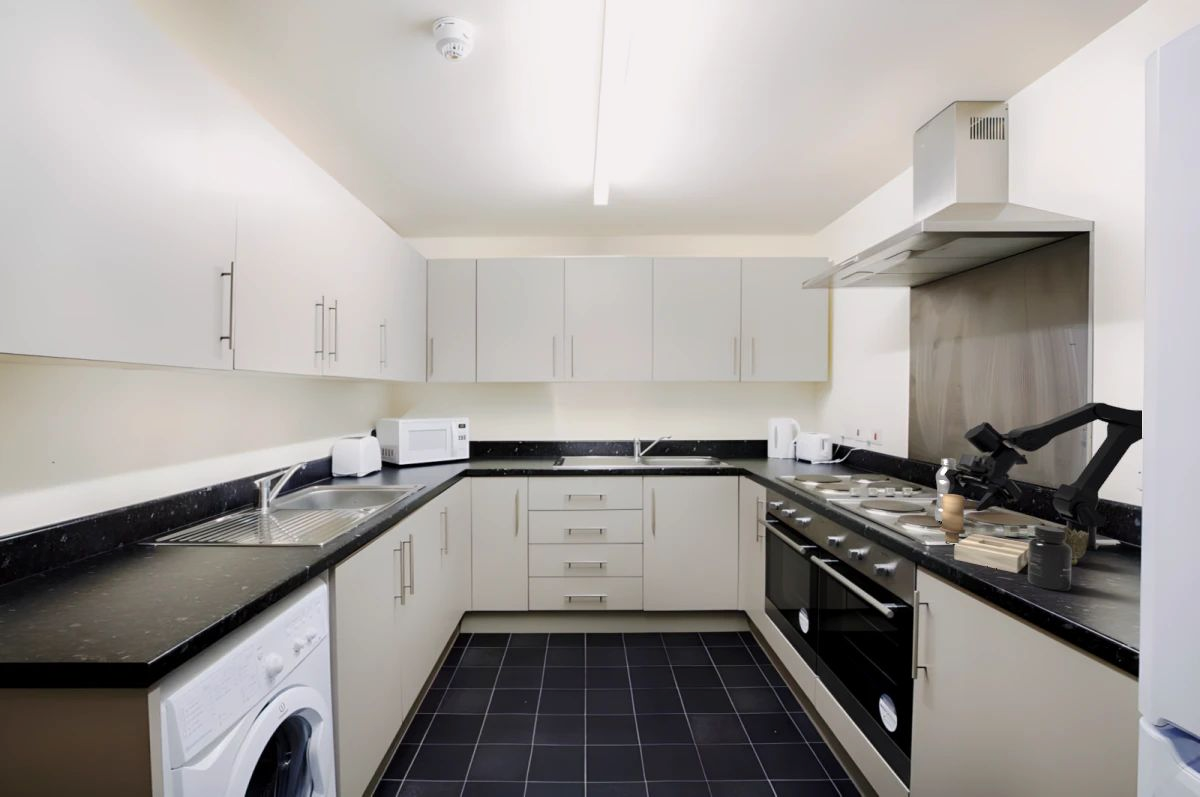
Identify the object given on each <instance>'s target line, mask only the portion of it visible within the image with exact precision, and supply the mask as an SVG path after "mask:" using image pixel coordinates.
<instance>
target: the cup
mask: <svg viewBox="0 0 1200 797" xmlns="http://www.w3.org/2000/svg"><path fill="white" fill-rule="evenodd" d="M1056 528H1058V529H1062V530H1064V531H1066V540H1065V541H1064V542H1065V543H1066V544H1068V545H1069V546H1070V547H1071V549H1072V562H1071V566H1075V565H1076V564H1077V563H1078V559H1081V558H1082V557H1084V555H1085V554H1086V551H1087V549H1086V548H1087V543H1088V537H1089V533H1087V534H1086V532H1082V530H1081V531H1079V532H1078V533H1077V531H1076V529H1074V530H1073V531H1072V530H1070V529H1069V528H1067V526H1064V527H1060V526H1057V527H1056Z"/></svg>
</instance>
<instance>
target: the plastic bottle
mask: <svg viewBox="0 0 1200 797" xmlns="http://www.w3.org/2000/svg"><path fill="white" fill-rule="evenodd" d="M940 459H941V460H940V465H941V467H940V468H938V470H937V472H936V474H935V481H936V488H937V490H936V492H937V494H936V495H937V496H936V497H937V498H936V506H935V508H934V509H935V510H934V519H935V520H936V521H937V520H938V521H942V494H948V490H949V486H950V482H949V480H948V479H947V477H946V476H945V475H944V473H945V472H946V471H947V470H948V469H956V470H958V469H957V467H956V466H957V460H956V459H955V458H947V457H946V458H945V457H944V458H940ZM938 521H937V522H938Z"/></svg>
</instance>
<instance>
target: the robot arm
mask: <svg viewBox="0 0 1200 797" xmlns="http://www.w3.org/2000/svg"><path fill="white" fill-rule="evenodd" d="M1097 420H1098V421H1100V422H1103V423H1105V424H1107V425H1106V438H1105V439H1104V441H1103V442H1102V444H1101V445H1100V446H1099V447H1098V449H1097V451H1096V452H1095V453H1094V454H1093V456H1092V457H1091V458H1090V460H1089V462H1088V463H1087V465H1086V466H1085V467H1084V469H1083V470H1082V472H1080V474H1079V476H1078V478H1077V479H1076V480H1075V482H1072V483H1071V484H1066V483H1061V484H1060V485H1059V488H1058V489H1057V491H1056V492H1055V493H1054V494H1052V497H1054V498H1053V499H1052V504H1053V507H1054V509H1055V510H1056V511H1057V512H1058V514H1059V516H1060V518H1061V519H1062V520H1063V519H1064V520H1066V527H1067V528H1069V529H1070V530H1072V531H1073V530H1074V529H1076V531H1077V533H1078V532H1079V531H1081V530H1082V532H1086V534H1087V533H1089V537H1088V543H1087V548H1086V550H1093V551H1097V550H1098V548H1099V547H1100V544H1099V543H1097V528H1104V526H1105V525H1106V522H1107V519H1106V518H1105V517H1104V516H1103V515H1102V514H1101V513H1099V511H1097V510H1096V509H1097V507H1098V505H1099V491H1100V489H1101V488H1102V486H1103V485H1104V484H1105V483H1106V481H1107V480H1108V478H1109V477H1110V475H1111V474H1112V473H1113V471H1114V470H1115V468H1116V467H1117V465H1118V464H1119V463H1120V461H1121V460H1122V458H1123V457H1124V455H1125V454H1126V453H1127V451H1128V450H1129V448H1130V447H1131V446H1132V445H1134V444H1135V443H1138V442H1140V441H1141V440H1142V439H1143V438H1142V410H1141V409H1127V408H1124V407H1119V406H1116V405H1115V406H1114V405H1111V404H1108V403H1105V402H1087V403H1086V404H1085V405H1083V406H1080V407H1077V408H1076V409H1073V410H1071V411H1068V412H1065V413H1063V414H1061V415H1058V416H1056V417H1053V418H1052V419H1050V420H1046V421H1043V422H1041V423H1038V424H1031V425H1026V426H1022V427H1018V428H1017V427H1016V428H1014V429H1013V428H1012V429H1011V430H1010V431H1009V432H1007V433H1000V432H998V430H996V429H995V428H994V427H993V426H992V425H991V424H990V422H987V421H986V422H984V421H983V422H982V423H980V424H978V425H976V426H975V427H973V428H970V429H969V430H968V431H967V432H966V433H965V435H964V439H965V440H966V441H967V442H969V443H970V444H971V445H972V446H973V447H974V448H975V449H976V450H978V452H980V453H981V454H983V453H984V455H982V456H978V455H974V454H967V453H962V456H961V457H960V460H959V462H958V465H959V466H960V467H963V468H965V469H967V473H968V475H971V476H968V475H967V474H966V473H965V472H964V471H963V470H961V469H957V468H956V469H957V470H956V469H948V470H947V471H946V472H945V473H944V475H945V476H946V477H947V479H948V480H949V482H950V486H949V490H948V494H954V495H960V496H963V495H964V494H966V493H967V490H969V489H970V488H971V487H972V486H975V487H981V488H982V489H983V488H984V489H987V491H986V493H985V494H984V495H983V496H982V498H981V499H980V500H979V501H978V503H977V504H976V506H975V511H976V512H981V511H984V510H987V509H990V508H992V507H995V506H998V505H1002V504H1005V503H1012V502H1019V499H1020V498H1021V497H1022V490H1020V488H1019V487H1018V486H1017V484H1016V483H1015V482H1014V481H1013V480H1012V479H1010V475H1009V474H1008V473H1009V472H1010V470H1011V469H1012V468H1013V467H1014V466H1015V465H1017V466H1019V465H1021V466H1023V465H1028V464H1029V462H1028V460H1027V458H1026V454H1022V453H1020V452H1018V451H1017V450H1019V451H1022V452H1023V451H1024V452H1029V453H1031V452H1036V451H1038V450H1040V449H1042V448H1043V447H1045V446H1046V445H1048V444H1049V443H1050V442H1051V441H1052V440H1053V439H1054V438H1056V437H1058V436H1061V435H1062V434H1066V433H1068V432H1070V431H1073V430H1075V429H1078V428H1080V427H1082V426H1085V425H1088V424H1090V423H1092V422H1094V421H1097ZM985 453H988V454H989V455H985Z"/></svg>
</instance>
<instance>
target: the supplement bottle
mask: <svg viewBox="0 0 1200 797" xmlns="http://www.w3.org/2000/svg"><path fill="white" fill-rule="evenodd" d="M1034 530H1035V532H1034V536H1036V537H1035V538H1032V539H1031V540H1030V541H1029V542H1028V543H1029V554H1028V563H1027V580H1028V582H1029V583H1030V584H1032V585H1033V586H1035V585H1036V587H1038V588H1042V589H1045V588H1046V589H1045V590H1050V591H1056V590H1058V591H1059V592H1065V591H1066V592H1067V591H1069V590H1070V589H1071V582H1072V565H1071V562H1072V549H1071V547H1070V546H1069V545H1068V544H1066V543H1065V542H1064V541H1065V540H1066V531H1064V530H1062V529H1058V528H1057V527H1052V526H1043V525H1040V526H1039V525H1037V526H1035V529H1034Z"/></svg>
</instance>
